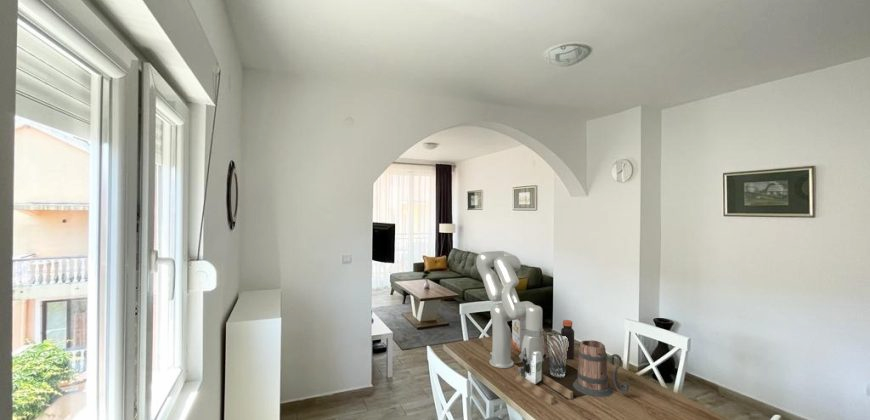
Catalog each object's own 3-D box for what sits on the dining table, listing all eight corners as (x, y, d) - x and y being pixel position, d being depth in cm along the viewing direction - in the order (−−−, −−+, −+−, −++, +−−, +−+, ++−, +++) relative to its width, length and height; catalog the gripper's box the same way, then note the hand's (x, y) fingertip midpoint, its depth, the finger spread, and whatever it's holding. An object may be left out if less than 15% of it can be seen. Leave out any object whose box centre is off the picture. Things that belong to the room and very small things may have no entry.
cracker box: (511, 344, 220) (511, 309, 220) (521, 343, 220) (521, 309, 221) (519, 352, 206) (519, 316, 206) (529, 352, 206) (529, 315, 207)
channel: (515, 380, 172) (515, 367, 172) (535, 375, 176) (535, 363, 177) (551, 404, 150) (551, 390, 150) (573, 398, 155) (573, 384, 155)
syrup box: (531, 376, 173) (531, 346, 173) (542, 380, 169) (542, 349, 169) (524, 380, 169) (524, 349, 169) (536, 384, 165) (536, 353, 165)
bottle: (563, 354, 204) (563, 318, 204) (575, 357, 200) (575, 320, 200) (559, 357, 199) (559, 321, 199) (571, 361, 194) (571, 323, 195)
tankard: (566, 387, 164) (566, 343, 165) (581, 376, 177) (581, 334, 177) (622, 407, 148) (622, 358, 148) (634, 392, 160) (634, 347, 161)
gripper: (543, 327, 176) (542, 364, 176) (513, 332, 169) (513, 370, 169) (554, 332, 169) (553, 370, 169) (523, 337, 162) (523, 377, 162)
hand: (533, 370), depth 169 cm, fingers closed on syrup box, 7 cm apart
